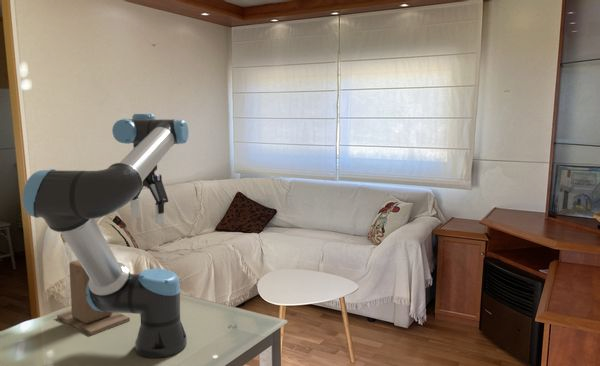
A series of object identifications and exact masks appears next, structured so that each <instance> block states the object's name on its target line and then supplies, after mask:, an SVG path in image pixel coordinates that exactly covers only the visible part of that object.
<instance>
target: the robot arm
mask: <svg viewBox="0 0 600 366" xmlns="http://www.w3.org/2000/svg"><path fill="white" fill-rule="evenodd" d="M187 123H188V122H186V121H185V120H183V119H175V118H174V119H173V118H171V119H156V116H155V114H153V113H134V114H133V115H132V118H122V119H119V120H117V121H116V122H114V124H113V126H112V135H113V138H114V139H115V140H116V141H117V142H119V143H121V144H125V145H126V144H133V149H132V150H131V151H129V153H128V154H127V155H125V157H124V158H123V159H122V160H121V161H120V162H115V163H112V164H111V165H110V166H109V167H107V168H105V169H99V170H98V169H97V170H56V169H54V168H53V169H52V168H51V169H43V170H42V169H41V170H37V171H35V172H34V173H32V174H31V175H30V176H29V178H28V179H27V181H26V182H25V184H24V187H23V190H22V191H23V192H22V199H21V200H22V206H23V208H24V209H23V210H24V211H25V212H26V214H27V215H28V216H30V217H34V218H35V219H37V218H42V219H43V220H44V222H45V223H46V224H47V226H48V227H49V229H50V230H52V231H54V232H56V233H60V234H61V235H62V237H63V238H64V241H66V244H67V245H68V247H69V248H70V250H71V251H72V253H73V254H74V256H75V257H76V260H78V261H79V262H80V264H81V265H82V267H83V269H84V270H85V272H86V273H87V275H88V276H89V278H90V279H89V281H88V284H87V287H86V294H87V297H86V298H87V302H88V304H89V305H90V307H91V308H93V309H94V310H97V311H101V312H116V313H120V314H139V317H140V325H139V330H138V332H137V337H136V340H135V343H134V345H135V353H136V354H138V355H139V356H141V357H143V358H149V359H156V358H157V359H159V358H165V357H166V358H167V357H171V356H173V355H176V354H178V353H180V352H182V351H183V350H184V349H185V348H186V346H187V343H188V342H187V341H188V340H187V339H188V337H187V334H186V331H185V328H184V325H183V324H182V321H181V320H182V319H181V286H180V278H179V276H178V275H177V274H176V273H175V272H173V271H172V270H169V269H164V268H147V269H144V270H142V271H140V273H139V274H137V273H131V272H130V271H129V269H128V267H127V266H126V265H125V264H123V263H122V262H119V261H118V260H117V258H116V256H115V254H114V253H113V251H112V249H111V247H110V245H109V243H108V242H107V239H106V237H105V236H104V234H103V231H102V230H101V229H100V226H99V224H98V223H97V221H96V219H98V218H103V217H106V216H108V215H110V214H113V213H114V212H115V213H116V211H118V210H120V209H122V208H123V207H125V206H126V205H127V204H128V203H130V210H131V219H138V218H140V215H141V214H140V198H139V195H140V194H141V191H142V190H143V189H144V187H145V188H147V189H148V190H150V193H151V195H152V197H153V199H154V200H155V204H154V211H155V213H154V214H155V215H154V216H155V224H161V223H164V221H165V220H164V218H165V217H164V213H165V204H166V203H169V197H168V196H167V193H166V189H165V185H164V183H163V177H162V174H160V173H159V174H156V173H155V172H156V171H157V170H158V163H160V161H161V160H162V159H164V157H165V155H166V154H167V153H168V151H170V150H171V148H172V147H173V146H174V145H179V144H180V145H182V144H183V145H184V144H185V143H187V141H188V139H189V132H190V131H189V126H188V124H187Z"/></svg>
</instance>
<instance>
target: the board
mask: <svg viewBox="0 0 600 366" xmlns="http://www.w3.org/2000/svg"><path fill="white" fill-rule="evenodd" d="M56 319H58V320H60V321H62V322H64V323H66V324H68V325H70V326H71V327H74V328H76V329H77V330H79V331H82V332H83V333H85V334H87V335H89V336H93V335H96V334H99V333H102V332H105V331H106V330H109V329H112V328H115V327H117V326H120V325H123V324H125V323H128V322H130V320H131V319H130V317H129V316H127V315H124V314H123V313H116V312H112V315H110V316H107V317H105V318H102V319H99V320H96V321H93V322H91V323H84V322H82V321H80V320H78V319H76V318H73V316H72V309H71V310H69V311H66V312H63V313H59V314H56Z"/></svg>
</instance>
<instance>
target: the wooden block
mask: <svg viewBox="0 0 600 366" xmlns="http://www.w3.org/2000/svg"><path fill="white" fill-rule="evenodd" d="M68 266H69V267H68V268H69V282H70V284H69V285H70V302H71V303H70V304H71V306H70V307H71V310H72V316H73V318H76V319H78V320H80V321H82V322H84V323H91V322H93V321H96V320H99V319H102V318H105V317H107V316H110V315H112V312H101V311H97V310H94V309H93V308H91V307H90V305H89V304H88V302H87V298H86V297H87V294H86V287H87V284H88V281H89V279H90V278H89V276H88V275H87V273H86V272H85V270H84V269H83V267H82V265H81V264H80V262H79V261H78V259H76V260H72V261H70V262H69V264H68Z"/></svg>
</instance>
